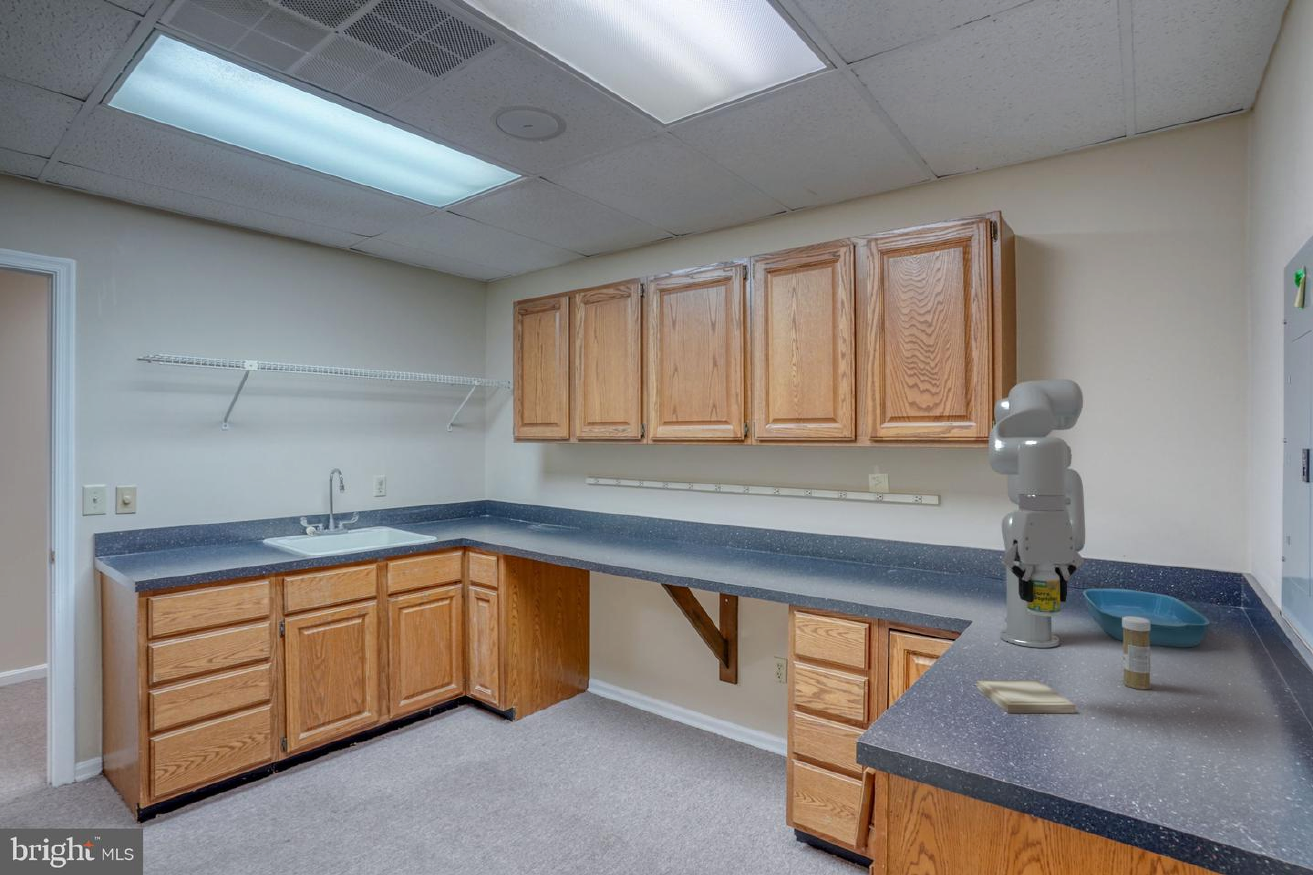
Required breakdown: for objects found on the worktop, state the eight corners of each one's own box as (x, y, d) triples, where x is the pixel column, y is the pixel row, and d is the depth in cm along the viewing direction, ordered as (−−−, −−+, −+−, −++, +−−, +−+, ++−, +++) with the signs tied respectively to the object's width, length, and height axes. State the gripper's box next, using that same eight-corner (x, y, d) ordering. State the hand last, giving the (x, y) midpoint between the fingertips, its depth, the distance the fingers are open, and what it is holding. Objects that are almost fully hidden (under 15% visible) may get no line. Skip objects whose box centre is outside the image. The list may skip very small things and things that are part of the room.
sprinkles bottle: (1124, 680, 133) (1123, 614, 133) (1152, 685, 130) (1151, 618, 130) (1121, 686, 129) (1120, 618, 130) (1149, 692, 126) (1148, 623, 126)
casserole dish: (1225, 658, 146) (1225, 626, 147) (1107, 646, 155) (1107, 617, 155) (1169, 617, 180) (1169, 591, 180) (1075, 609, 189) (1075, 585, 189)
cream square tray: (976, 687, 129) (976, 679, 129) (1038, 687, 129) (1037, 679, 129) (1007, 712, 117) (1007, 703, 117) (1075, 712, 117) (1075, 703, 117)
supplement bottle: (1056, 610, 124) (1055, 559, 124) (1063, 617, 119) (1063, 564, 119) (1024, 608, 126) (1023, 558, 126) (1029, 615, 120) (1029, 563, 120)
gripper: (1073, 501, 126) (1075, 595, 126) (985, 502, 126) (987, 596, 126) (1100, 505, 119) (1102, 604, 118) (1006, 506, 118) (1008, 606, 118)
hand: (1042, 599), depth 122 cm, fingers closed on supplement bottle, 5 cm apart
